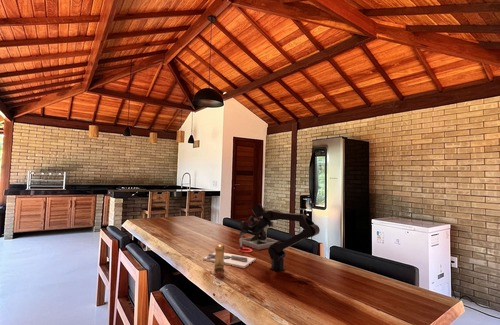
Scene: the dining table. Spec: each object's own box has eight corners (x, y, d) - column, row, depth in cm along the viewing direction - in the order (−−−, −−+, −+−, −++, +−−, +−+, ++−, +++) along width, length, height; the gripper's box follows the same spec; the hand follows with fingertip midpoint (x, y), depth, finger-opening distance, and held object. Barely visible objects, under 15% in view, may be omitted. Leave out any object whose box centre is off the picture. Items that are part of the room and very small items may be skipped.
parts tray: (279, 245, 204) (279, 241, 205) (258, 249, 190) (258, 245, 190) (260, 239, 221) (260, 235, 221) (239, 242, 207) (239, 239, 207)
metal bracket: (263, 238, 197) (247, 234, 206) (261, 246, 195) (245, 242, 205) (273, 240, 207) (258, 237, 217) (272, 248, 206) (256, 244, 215)
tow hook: (254, 251, 189) (242, 248, 192) (255, 232, 189) (243, 230, 193) (249, 254, 181) (237, 251, 185) (250, 235, 181) (238, 232, 185)
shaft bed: (255, 260, 167) (255, 255, 167) (244, 268, 152) (244, 262, 152) (216, 253, 179) (217, 248, 179) (203, 259, 164) (203, 254, 164)
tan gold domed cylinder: (225, 269, 149) (226, 245, 150) (217, 271, 146) (218, 247, 146) (220, 266, 153) (221, 243, 154) (212, 268, 150) (213, 245, 150)
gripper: (270, 219, 171) (254, 233, 177) (247, 208, 162) (232, 223, 169) (273, 233, 162) (256, 247, 168) (250, 222, 154) (233, 237, 160)
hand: (244, 238), depth 167 cm, fingers open, 9 cm apart
